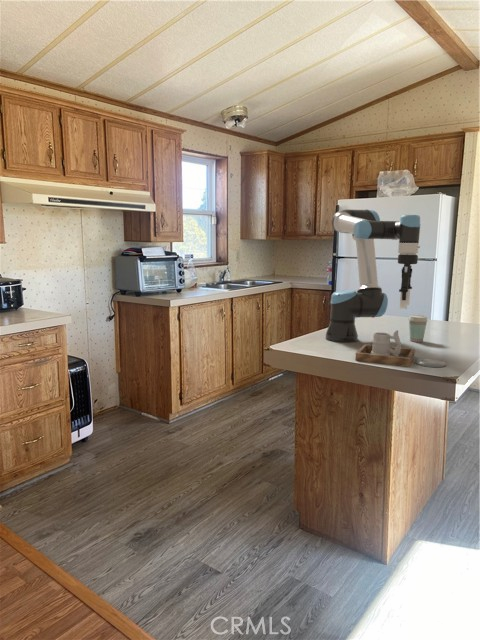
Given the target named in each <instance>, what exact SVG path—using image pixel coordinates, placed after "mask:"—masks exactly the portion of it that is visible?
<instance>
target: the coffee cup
mask: <svg viewBox="0 0 480 640" xmlns="http://www.w3.org/2000/svg"><path fill="white" fill-rule="evenodd" d="M427 322H428V318H427V315H421V314H419V315H418V314H411V315H409V318H408V326H409V341H410V342H413V343H423V342H424V338H425V333H426V328H427Z"/></svg>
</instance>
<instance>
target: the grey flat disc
mask: <svg viewBox="0 0 480 640" xmlns="http://www.w3.org/2000/svg"><path fill="white" fill-rule="evenodd" d="M414 362H415V364H416V365H418V366H421V367H425V368H426V367H428V368H444V367H446V362H444V361H442V360H439V359H432V358H418V359H415V361H414Z"/></svg>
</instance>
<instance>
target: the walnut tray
mask: <svg viewBox="0 0 480 640" xmlns="http://www.w3.org/2000/svg"><path fill="white" fill-rule="evenodd" d="M372 346H373V344H365V343H364V344H363V345H362V346H361V347H360V348H359V349H358V350H357V351H356V352H355V361H360V362H368V363H375V364H383V365H385V364H386V365H392V364H394V366H401V365H404V366H403V367H411V364H412V362H413V360H414V358H415V354H416V353H415V352H416V350H415V348H407V347H401V350H400V354H399V355H398V357H395V356H394V354H392V353H390V356H386V355H377V354H371V351H372ZM390 348H391V349H393V350H395V349H396V346H390ZM391 354H392V355H391ZM400 355H403V357H402V356H400Z"/></svg>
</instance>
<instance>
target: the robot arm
mask: <svg viewBox="0 0 480 640" xmlns="http://www.w3.org/2000/svg"><path fill="white" fill-rule="evenodd" d="M330 221H331V224H330V225H331V228H332V229H333V230H334V231H335V232H337V233H341V234H350V235H352V236H351V237H352V239H353V241H355V243H356V244H355V248H356V257H357V259H356V260H357V268H358V282H359V288H358V289H357V290H354V289H346V290H345V289H344V290H337V291H334V292H333V293H332V294H331V296H330V298H331V299H330V313H329V315H330V318H329V320H330V321H329V325H328V327H327V330H326V333H325V339H326V340H328V341H331V342H339V343H351V342H356V341H357V342H358V339H359V335H358V331H357V328H356V318H372V319H373V318H380V317H383V315H385V313H386V312H387V308H388V302H389V300H388V295H387V294H386V293H384V292H383V289H382V287H380V286H379V282H378V270H377V262H376V261H377V258H376V248H375V240H392V241H393V240H395V241H397V240H398V250H397V252H398V255H397V264H398V265H403V266H402V268H401V283H400V284H401V285H400V289H399V290H398V292H399V293H400V297H399V298H400V299H399V300H400V301H399V309H406V310H407V309H408V306H409V305H410V298H411V290H412V289H413V286H411V280H412V279H411V278H412V274H413V268H412V267H413V266H412V265H417V264H418V262H419V261H418V258H419V255H418V253H419V249H420V248H421V246H420V245H419V243H420V242H419V241H420V234H421V233H420V231H421V216H420V215H418V214H403V215H401V217H400V220H396V221H395V220H381V218H380V215H379V213H378V212H376V211H375V210H373V209H371V210H370V209H342V210H341V209H340V210H339V211H336V212H335V214H334V215H333V216H332V217H331V220H330Z"/></svg>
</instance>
